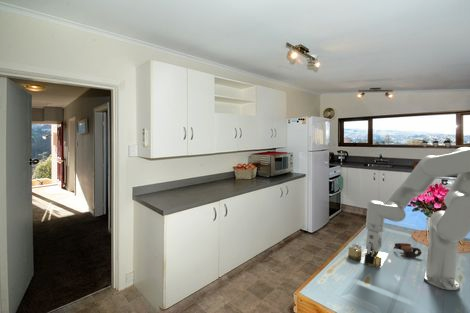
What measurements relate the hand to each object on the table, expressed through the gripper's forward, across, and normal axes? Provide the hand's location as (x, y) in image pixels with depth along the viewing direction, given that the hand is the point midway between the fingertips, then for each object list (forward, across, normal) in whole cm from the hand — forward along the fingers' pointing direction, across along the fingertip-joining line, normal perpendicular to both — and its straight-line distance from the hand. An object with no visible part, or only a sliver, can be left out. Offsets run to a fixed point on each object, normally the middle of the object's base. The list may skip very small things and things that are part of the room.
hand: (371, 259), depth 118 cm
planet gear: (+1, 0, 0) cm, 1 cm away
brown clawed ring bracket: (+3, +22, -12) cm, 25 cm away
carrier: (+3, +6, +4) cm, 7 cm away
